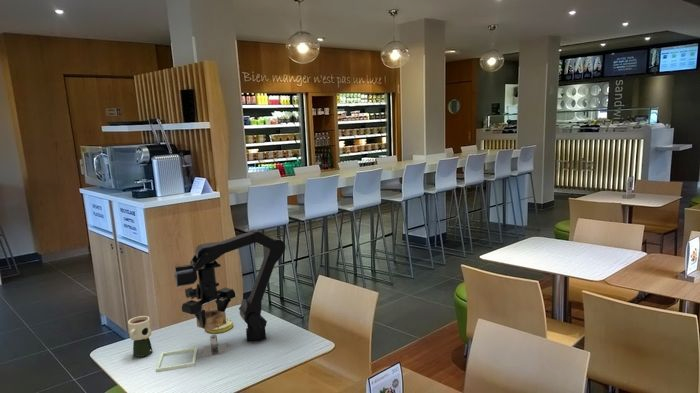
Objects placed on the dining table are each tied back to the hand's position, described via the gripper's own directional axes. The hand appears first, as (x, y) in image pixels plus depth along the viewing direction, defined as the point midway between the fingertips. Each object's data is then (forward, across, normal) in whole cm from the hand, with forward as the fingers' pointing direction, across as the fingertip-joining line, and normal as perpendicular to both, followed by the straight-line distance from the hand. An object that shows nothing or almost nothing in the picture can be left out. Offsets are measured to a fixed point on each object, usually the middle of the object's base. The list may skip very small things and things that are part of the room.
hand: (211, 323), depth 165 cm
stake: (+10, 0, 0) cm, 11 cm away
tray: (+11, +12, -5) cm, 16 cm away
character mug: (+11, +14, -22) cm, 28 cm away
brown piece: (0, 0, 0) cm, 0 cm away
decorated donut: (+11, -13, -14) cm, 22 cm away
